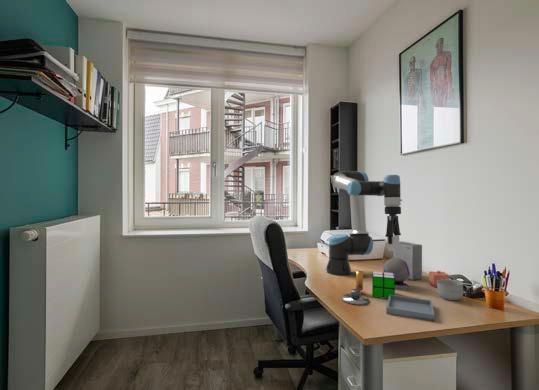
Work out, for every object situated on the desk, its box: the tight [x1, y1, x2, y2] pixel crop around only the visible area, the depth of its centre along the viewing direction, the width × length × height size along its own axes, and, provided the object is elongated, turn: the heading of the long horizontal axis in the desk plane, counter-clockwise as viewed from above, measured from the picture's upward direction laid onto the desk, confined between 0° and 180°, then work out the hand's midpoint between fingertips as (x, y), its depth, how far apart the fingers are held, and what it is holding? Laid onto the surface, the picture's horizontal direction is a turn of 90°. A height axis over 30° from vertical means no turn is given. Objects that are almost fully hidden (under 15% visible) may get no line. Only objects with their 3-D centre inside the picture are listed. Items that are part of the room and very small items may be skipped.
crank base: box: [341, 293, 370, 306], centre depth 141 cm, size 12×12×1 cm
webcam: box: [382, 257, 409, 291], centre depth 163 cm, size 13×13×15 cm
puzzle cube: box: [371, 271, 396, 299], centre depth 149 cm, size 10×10×10 cm
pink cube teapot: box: [428, 270, 451, 289], centre depth 162 cm, size 8×12×8 cm, turn 173°
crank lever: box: [350, 270, 364, 299], centre depth 146 cm, size 16×4×9 cm, turn 155°
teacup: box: [437, 279, 464, 301], centre depth 145 cm, size 14×11×8 cm
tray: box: [385, 294, 435, 322], centre depth 130 cm, size 18×18×2 cm
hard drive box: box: [392, 240, 423, 281], centre depth 181 cm, size 16×8×20 cm, turn 22°
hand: (393, 249), depth 148 cm, fingers open, 13 cm apart
